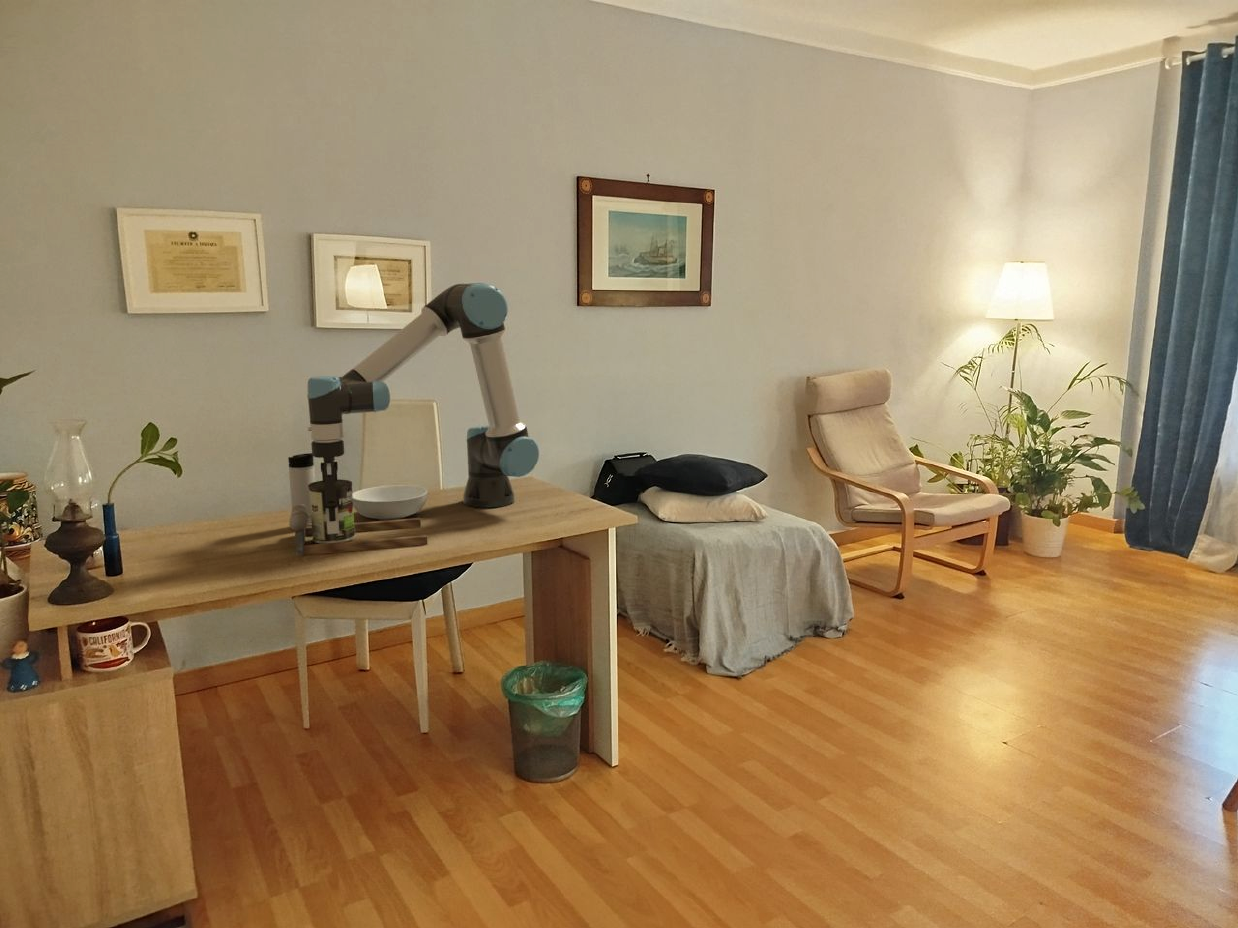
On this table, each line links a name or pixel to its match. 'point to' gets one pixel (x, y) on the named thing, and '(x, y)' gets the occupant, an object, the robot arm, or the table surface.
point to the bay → (300, 522)
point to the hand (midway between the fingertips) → (333, 527)
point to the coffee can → (344, 512)
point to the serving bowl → (389, 501)
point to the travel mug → (301, 480)
